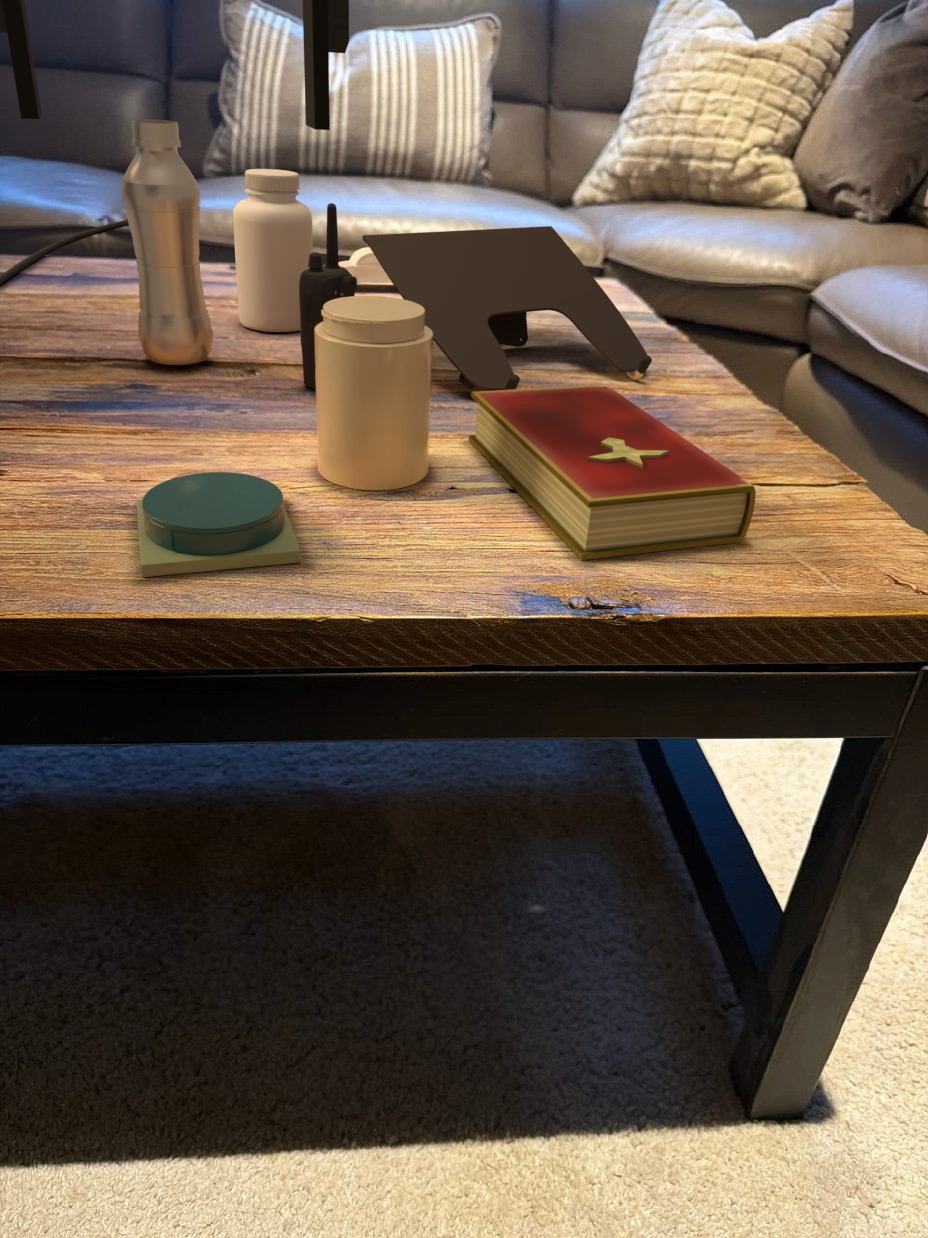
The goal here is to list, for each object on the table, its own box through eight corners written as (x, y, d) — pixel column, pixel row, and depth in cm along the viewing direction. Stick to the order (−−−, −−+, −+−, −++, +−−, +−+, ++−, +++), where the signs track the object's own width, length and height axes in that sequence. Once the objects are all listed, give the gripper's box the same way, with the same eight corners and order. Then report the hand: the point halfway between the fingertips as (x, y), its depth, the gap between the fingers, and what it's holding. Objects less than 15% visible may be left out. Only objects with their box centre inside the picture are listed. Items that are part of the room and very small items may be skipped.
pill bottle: (328, 322, 104) (326, 172, 96) (287, 338, 98) (281, 178, 90) (267, 311, 107) (261, 164, 99) (223, 326, 100) (212, 170, 93)
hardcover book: (603, 430, 79) (610, 380, 77) (746, 541, 62) (760, 481, 60) (468, 440, 76) (471, 388, 73) (581, 560, 59) (589, 497, 57)
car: (409, 281, 124) (410, 243, 122) (421, 292, 119) (422, 253, 117) (317, 282, 121) (316, 243, 118) (326, 293, 116) (325, 253, 113)
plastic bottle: (230, 362, 90) (213, 124, 79) (173, 378, 85) (148, 126, 74) (183, 348, 92) (161, 117, 82) (126, 363, 88) (95, 118, 77)
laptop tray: (451, 460, 87) (482, 385, 80) (346, 295, 96) (366, 214, 89) (637, 424, 99) (679, 356, 92) (528, 280, 108) (558, 207, 101)
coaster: (137, 511, 61) (136, 500, 61) (278, 501, 64) (278, 489, 63) (142, 577, 54) (140, 565, 53) (301, 562, 56) (300, 550, 56)
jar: (317, 448, 72) (314, 291, 66) (422, 448, 73) (428, 295, 67) (317, 490, 65) (313, 320, 60) (433, 490, 67) (440, 324, 61)
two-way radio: (333, 373, 88) (331, 199, 81) (372, 383, 87) (373, 205, 79) (294, 387, 84) (288, 204, 77) (334, 398, 82) (331, 212, 75)
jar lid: (233, 568, 54) (231, 540, 53) (114, 536, 56) (110, 509, 55) (309, 513, 60) (308, 488, 59) (200, 487, 63) (197, 462, 62)
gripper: (417, -406, 43) (405, 125, 54) (-228, -540, 35) (-90, 105, 46) (468, -476, 37) (443, 138, 48) (-296, -655, 29) (-119, 117, 40)
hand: (180, 123), depth 47 cm, fingers open, 13 cm apart
